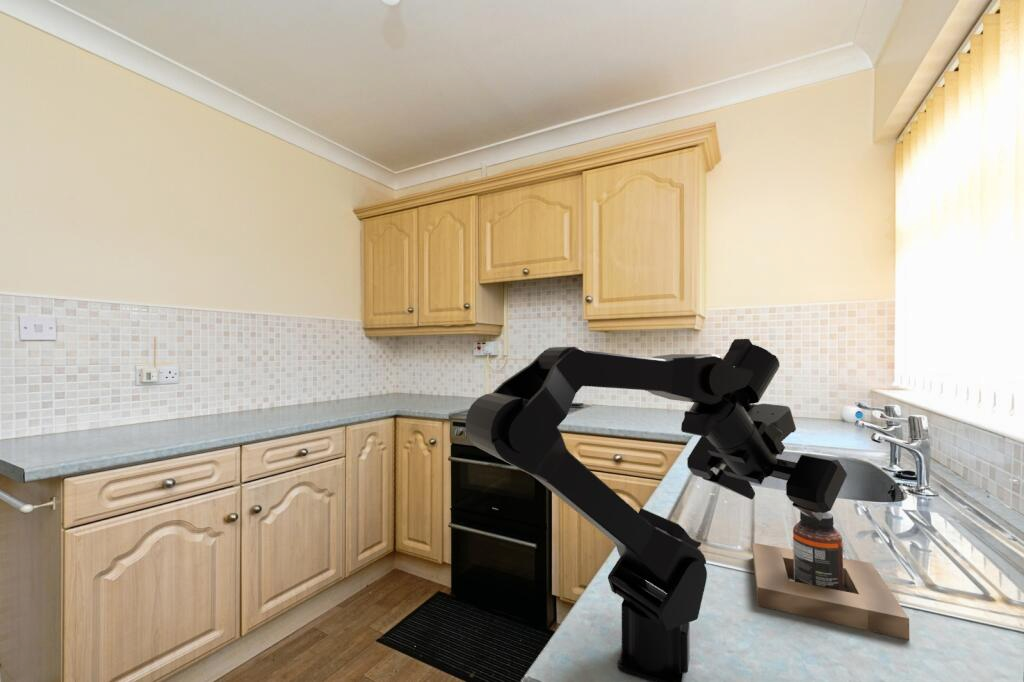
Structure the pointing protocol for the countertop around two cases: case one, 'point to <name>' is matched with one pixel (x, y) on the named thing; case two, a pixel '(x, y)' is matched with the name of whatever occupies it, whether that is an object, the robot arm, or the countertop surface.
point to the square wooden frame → (829, 594)
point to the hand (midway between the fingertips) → (784, 506)
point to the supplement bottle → (818, 552)
